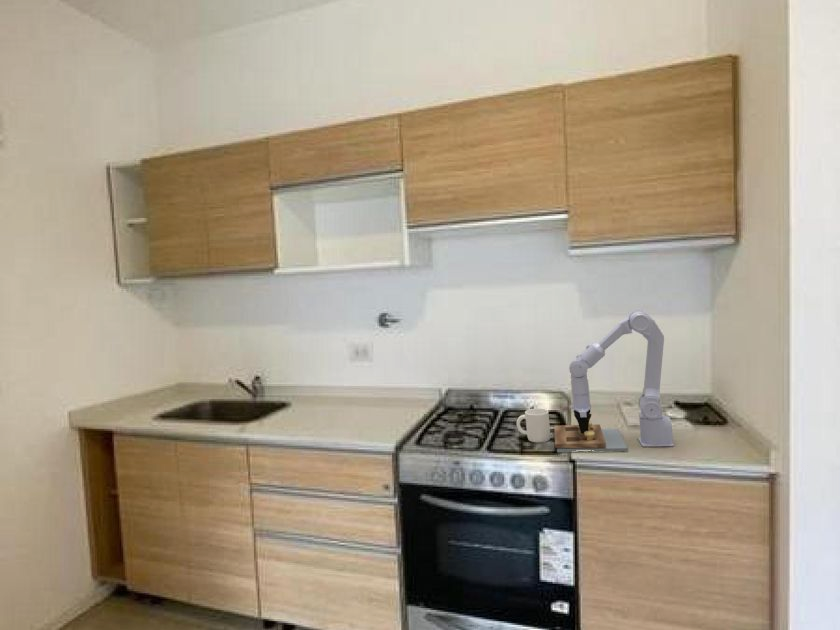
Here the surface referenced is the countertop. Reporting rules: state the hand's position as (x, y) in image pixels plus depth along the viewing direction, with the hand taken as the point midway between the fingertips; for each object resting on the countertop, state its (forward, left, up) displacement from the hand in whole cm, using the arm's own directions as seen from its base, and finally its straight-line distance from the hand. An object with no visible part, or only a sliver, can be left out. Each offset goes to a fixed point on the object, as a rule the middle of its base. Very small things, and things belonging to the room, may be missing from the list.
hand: (583, 431), depth 166 cm
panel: (+2, 0, -2) cm, 3 cm away
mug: (+17, -4, -4) cm, 18 cm away
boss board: (-2, 0, -4) cm, 4 cm away
